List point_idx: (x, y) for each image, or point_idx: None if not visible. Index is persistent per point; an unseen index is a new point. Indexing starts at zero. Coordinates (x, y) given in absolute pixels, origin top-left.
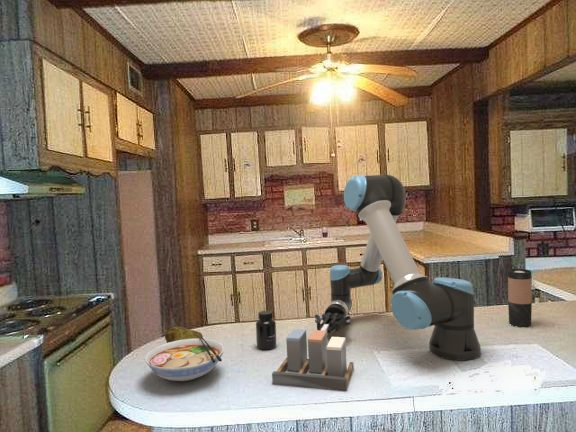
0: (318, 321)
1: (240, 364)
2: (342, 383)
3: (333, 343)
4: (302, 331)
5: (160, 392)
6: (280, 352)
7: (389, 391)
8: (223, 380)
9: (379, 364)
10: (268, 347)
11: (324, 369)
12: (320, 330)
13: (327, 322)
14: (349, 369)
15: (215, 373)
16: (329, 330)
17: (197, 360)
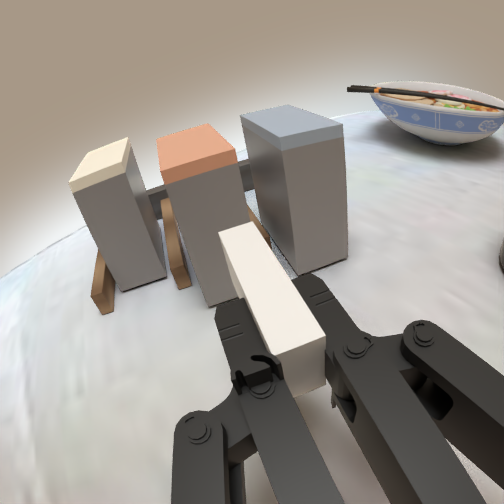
0: (462, 367)
1: (437, 181)
2: None
3: (109, 150)
4: (278, 127)
5: None
6: (456, 270)
7: (31, 269)
8: (380, 149)
9: (26, 379)
10: (501, 246)
11: (172, 223)
12: (196, 159)
13: (401, 487)
14: (100, 256)
15: (422, 152)
16: (223, 310)
17: (403, 97)
